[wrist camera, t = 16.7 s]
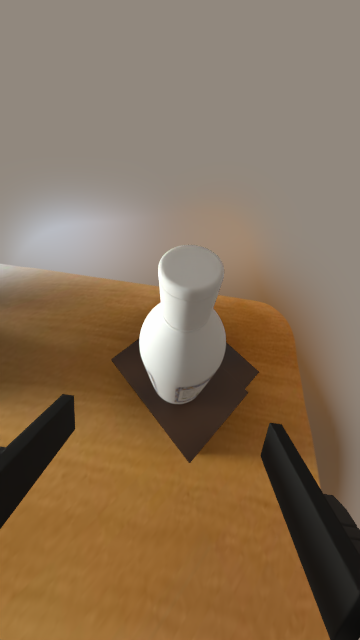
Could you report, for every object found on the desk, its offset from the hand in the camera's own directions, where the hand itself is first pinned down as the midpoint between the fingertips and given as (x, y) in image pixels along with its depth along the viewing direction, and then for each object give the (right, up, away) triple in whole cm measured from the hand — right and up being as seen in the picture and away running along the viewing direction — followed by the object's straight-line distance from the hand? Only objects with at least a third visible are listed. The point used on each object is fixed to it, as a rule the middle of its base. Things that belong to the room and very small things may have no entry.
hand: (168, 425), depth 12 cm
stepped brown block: (+2, -4, +23) cm, 23 cm away
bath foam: (+1, -1, +13) cm, 13 cm away
